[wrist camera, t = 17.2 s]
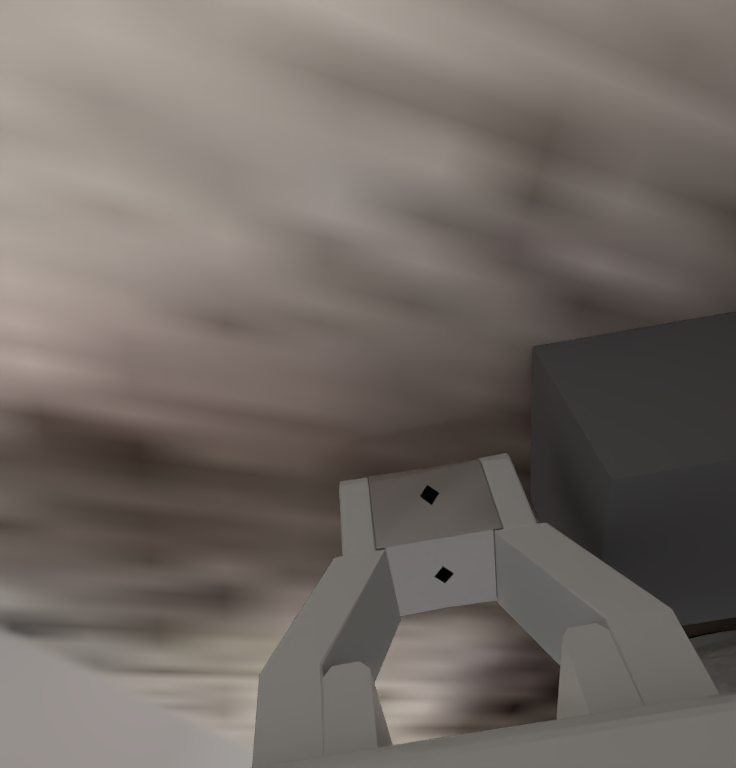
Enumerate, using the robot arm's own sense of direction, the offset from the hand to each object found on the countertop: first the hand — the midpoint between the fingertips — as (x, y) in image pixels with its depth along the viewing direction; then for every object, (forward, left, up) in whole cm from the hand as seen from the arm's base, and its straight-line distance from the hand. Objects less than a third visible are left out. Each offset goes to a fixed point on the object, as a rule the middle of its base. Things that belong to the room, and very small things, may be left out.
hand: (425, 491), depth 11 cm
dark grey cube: (-4, 0, -2) cm, 5 cm away
